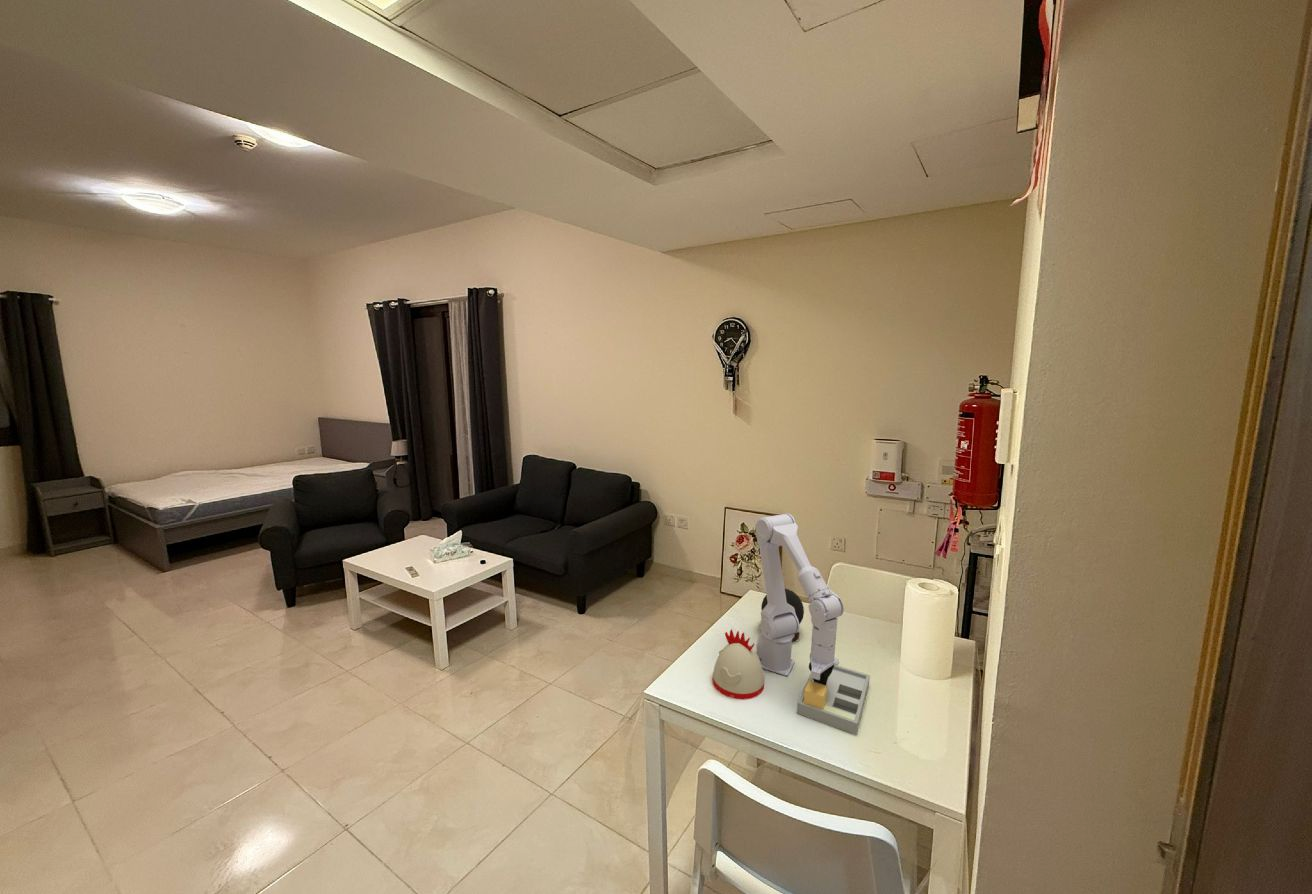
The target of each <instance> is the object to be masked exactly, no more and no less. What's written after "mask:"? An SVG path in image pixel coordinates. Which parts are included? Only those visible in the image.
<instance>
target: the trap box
mask: <svg viewBox="0 0 1312 894" xmlns="http://www.w3.org/2000/svg"><path fill="white" fill-rule="evenodd" d="M870 676H871V675H870V674H866V673H864V672H859V671H858V670H857V671H856V670H853V669H850V668H848V667H844V666H840V665H838V666H835V665H834V668H833V671H832V673H831V675H830V676H829V677H828V680H827V684H826V686H827V696H826V704H825V706H824V709H820V708H817V707H815V706H812V705H809V704H806V703H804V692H805V688H806V686H807V684H808V681H809V680H810V681H813V682H814V680H813V678H811V673H810V674H809V677H808V678H807V681H806V683H805V685H804V688H803V690H802V691H801V694H800V696H799V699H798V701H797V702H796V703H797V707H796V714H797V715H800V716H802V717H805V718H808V719H811V720H814V721H817V722H819V723H822V724H825V725H828V726H829V727H830V726H831V727H833V728H835V729H836V728H837V729H839V730H842V731H844V732H847V733H850V734H852V735H855V736H856V735H858V734H857V733H858V730H859V726H860V722H861V719H862V714H863V711H864V706H865V703H866V698H867V695H868V690H869V687H870V678H871V677H870Z"/></svg>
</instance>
